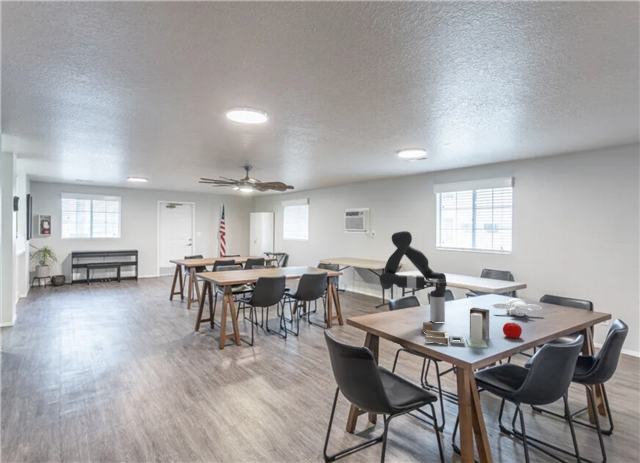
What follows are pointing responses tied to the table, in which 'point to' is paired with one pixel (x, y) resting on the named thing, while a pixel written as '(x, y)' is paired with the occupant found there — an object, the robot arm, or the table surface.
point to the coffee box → (484, 321)
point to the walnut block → (427, 326)
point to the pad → (477, 344)
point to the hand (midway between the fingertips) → (446, 283)
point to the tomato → (512, 330)
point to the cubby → (437, 337)
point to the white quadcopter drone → (517, 307)
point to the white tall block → (476, 328)
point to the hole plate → (456, 341)
